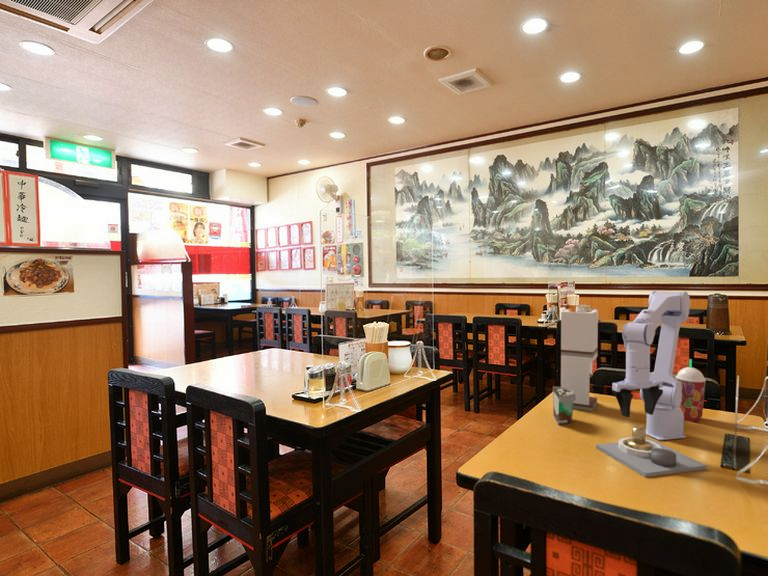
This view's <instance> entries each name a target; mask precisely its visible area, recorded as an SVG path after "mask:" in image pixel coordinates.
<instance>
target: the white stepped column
mask: <svg viewBox="0 0 768 576" xmlns="http://www.w3.org/2000/svg"><path fill="white" fill-rule="evenodd" d="M598 313H599V310H598V309H594V310H593V311H589V312H587V311H586V312H584V311H581V312H580V311H579V312H576V311H571V308H567V309H564V310H561V311H560V387H563V388H567V389H570V390H572V391H573V392H574V394H575V397H576V400H574V401H573V409H574V410H580V411H581V410H582V411H588V412H593V411H594V410H595V408H596V406H597V404H598V397H596V396H590V378H592V377H593V363H594V361H595V360H596V358H597V357H598V350H599V349H598V347H599V346H598V338H599V335H598V334H599V332H598V331H599V330H598V328H599V327H598V326H599V325H598V323H599V317H598V316H599V315H598Z"/></svg>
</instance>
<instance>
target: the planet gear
mask: <svg viewBox="0 0 768 576" xmlns="http://www.w3.org/2000/svg"><path fill="white" fill-rule="evenodd" d="M631 432H632V434H631V435H632V436H631V437H628V438H629V439H628V440H626V441H625V445H626V446H628V447H630V448H633V449H637V450H644V451H651V449H653V444H650V442H649V441H646V439H647V437H646V436H647V434H646V427H644V426H640V425H634V426H632V431H631Z"/></svg>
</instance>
